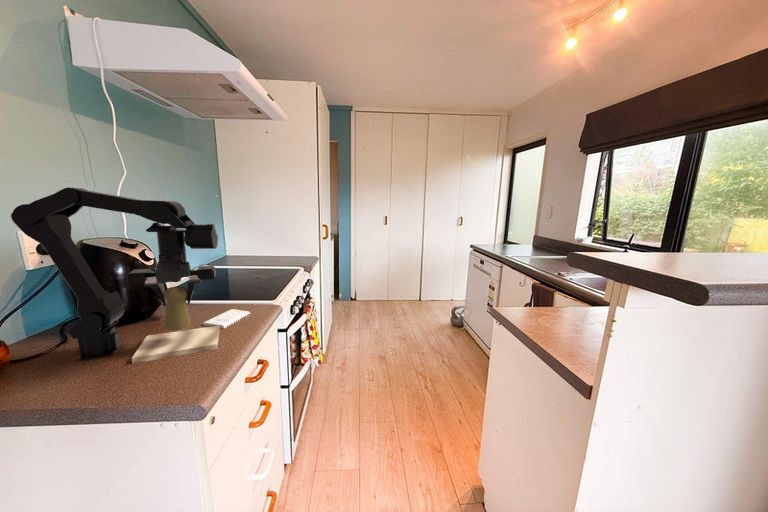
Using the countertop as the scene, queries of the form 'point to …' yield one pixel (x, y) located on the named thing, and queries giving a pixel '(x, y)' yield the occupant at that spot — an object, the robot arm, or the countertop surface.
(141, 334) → the countertop surface
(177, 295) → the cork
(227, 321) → the external hard drive
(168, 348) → the birch board
